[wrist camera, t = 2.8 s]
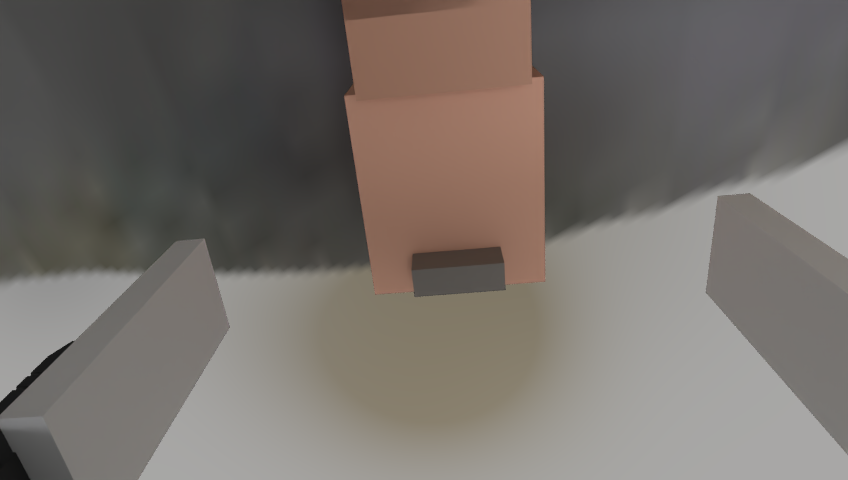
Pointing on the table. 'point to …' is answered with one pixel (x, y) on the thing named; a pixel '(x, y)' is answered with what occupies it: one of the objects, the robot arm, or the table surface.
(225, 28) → the table surface
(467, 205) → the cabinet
